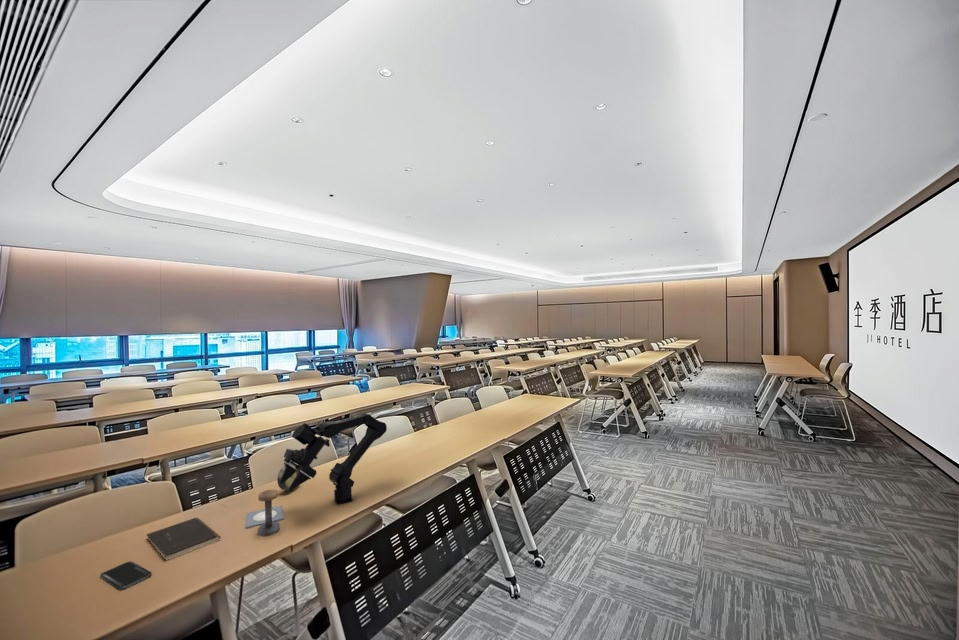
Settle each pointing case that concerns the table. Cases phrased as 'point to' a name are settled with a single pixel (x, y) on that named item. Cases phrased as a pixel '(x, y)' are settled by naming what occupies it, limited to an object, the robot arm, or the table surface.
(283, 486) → the alarm clock
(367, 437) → the robot arm
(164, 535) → the hardcover book
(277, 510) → the mat
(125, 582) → the phone
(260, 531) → the stool
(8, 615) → the table surface
